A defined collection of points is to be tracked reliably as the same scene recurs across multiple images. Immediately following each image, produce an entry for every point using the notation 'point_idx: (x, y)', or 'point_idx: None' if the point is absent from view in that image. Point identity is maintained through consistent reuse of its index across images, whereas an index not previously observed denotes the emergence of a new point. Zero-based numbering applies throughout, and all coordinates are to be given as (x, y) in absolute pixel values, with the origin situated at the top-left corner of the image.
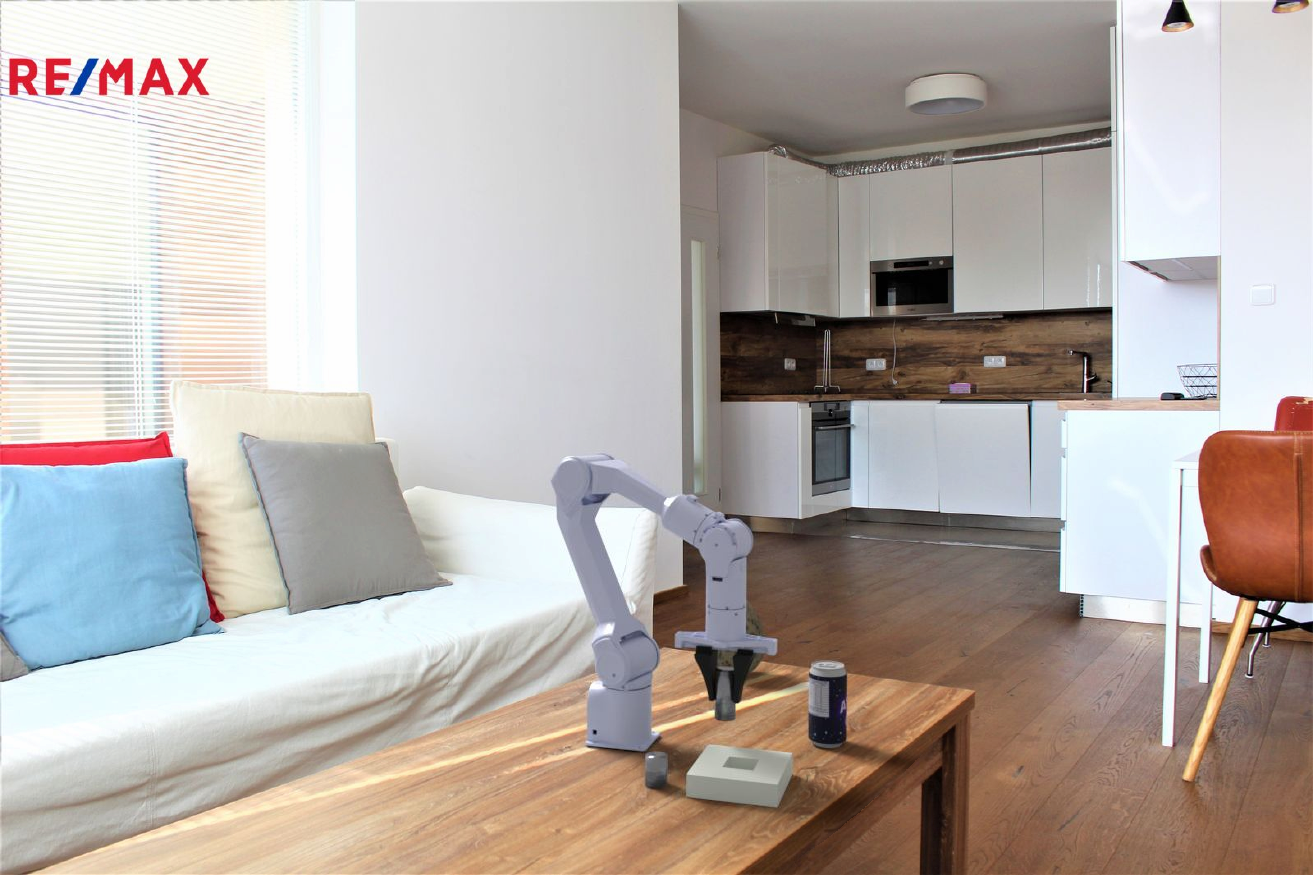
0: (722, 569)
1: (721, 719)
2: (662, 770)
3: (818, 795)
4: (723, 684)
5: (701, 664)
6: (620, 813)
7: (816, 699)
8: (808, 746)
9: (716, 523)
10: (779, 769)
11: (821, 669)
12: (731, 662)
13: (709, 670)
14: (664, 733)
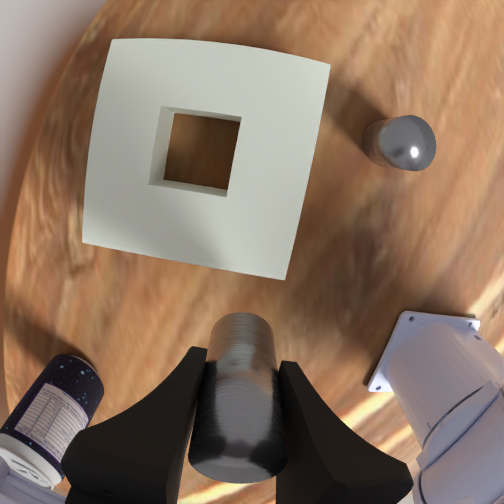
0: None
1: (251, 316)
2: (386, 121)
3: (60, 132)
4: (244, 393)
5: (366, 452)
6: (419, 21)
7: (53, 414)
8: (102, 364)
9: None
10: (102, 125)
11: (19, 456)
12: None
13: (317, 436)
14: (356, 397)
